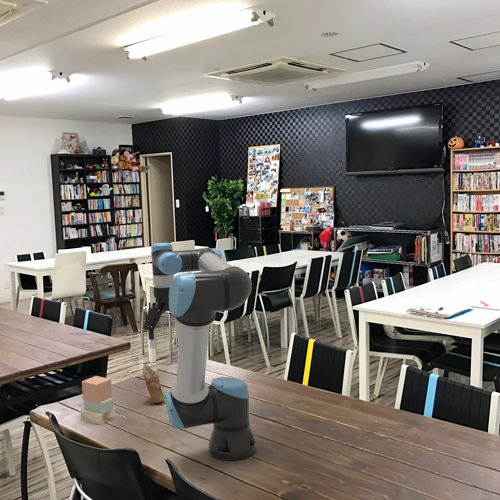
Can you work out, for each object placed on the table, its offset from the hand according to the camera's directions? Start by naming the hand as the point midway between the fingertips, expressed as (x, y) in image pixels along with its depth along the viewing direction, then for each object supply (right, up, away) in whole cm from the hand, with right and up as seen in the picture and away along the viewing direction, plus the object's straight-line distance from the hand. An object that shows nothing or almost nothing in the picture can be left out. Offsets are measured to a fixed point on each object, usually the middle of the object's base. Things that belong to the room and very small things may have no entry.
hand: (166, 343), depth 210 cm
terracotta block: (-27, -22, +6) cm, 35 cm away
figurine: (-8, -27, +21) cm, 35 cm away
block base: (-27, -30, +7) cm, 40 cm away
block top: (-26, -26, +6) cm, 37 cm away
